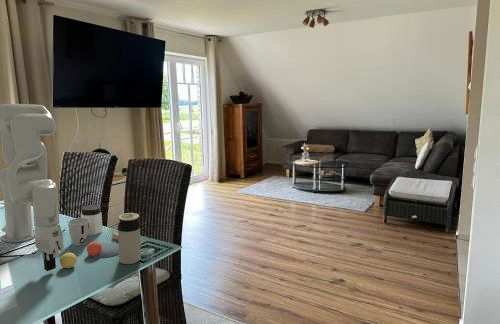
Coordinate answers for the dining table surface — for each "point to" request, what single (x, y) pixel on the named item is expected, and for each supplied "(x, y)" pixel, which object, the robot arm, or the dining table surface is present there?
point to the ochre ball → (68, 260)
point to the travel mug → (129, 238)
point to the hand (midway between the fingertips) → (50, 269)
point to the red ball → (94, 248)
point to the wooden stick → (115, 237)
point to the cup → (79, 230)
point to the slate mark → (108, 250)
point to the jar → (93, 218)
